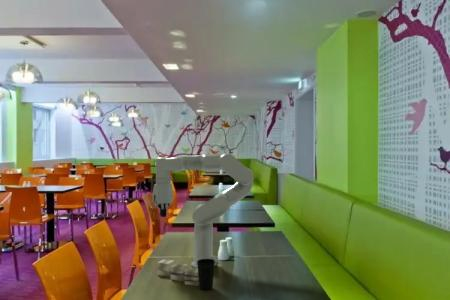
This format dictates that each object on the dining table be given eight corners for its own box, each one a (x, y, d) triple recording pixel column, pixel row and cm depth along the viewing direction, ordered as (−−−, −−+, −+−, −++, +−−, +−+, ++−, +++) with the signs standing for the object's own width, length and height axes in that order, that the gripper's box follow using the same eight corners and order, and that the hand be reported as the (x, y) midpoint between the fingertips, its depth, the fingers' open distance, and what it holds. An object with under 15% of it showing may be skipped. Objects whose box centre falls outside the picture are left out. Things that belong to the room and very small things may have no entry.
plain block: (174, 272, 206) (174, 260, 206) (168, 276, 200) (168, 263, 200) (163, 271, 208) (163, 259, 208) (157, 275, 202) (157, 262, 202)
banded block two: (202, 281, 193) (202, 268, 193) (197, 286, 187) (197, 272, 187) (190, 280, 195) (190, 267, 195) (184, 284, 189) (184, 271, 189)
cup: (214, 285, 188) (214, 258, 187) (214, 291, 180) (214, 263, 180) (197, 285, 187) (197, 258, 187) (196, 291, 180) (196, 263, 179)
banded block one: (188, 277, 200) (188, 264, 199) (182, 281, 194) (182, 268, 194) (176, 275, 202) (176, 263, 201) (170, 279, 196) (170, 266, 196)
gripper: (171, 179, 226) (171, 214, 226) (146, 181, 216) (146, 217, 217) (179, 180, 220) (179, 215, 221) (154, 182, 211) (154, 219, 211)
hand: (163, 216), depth 219 cm, fingers closed
